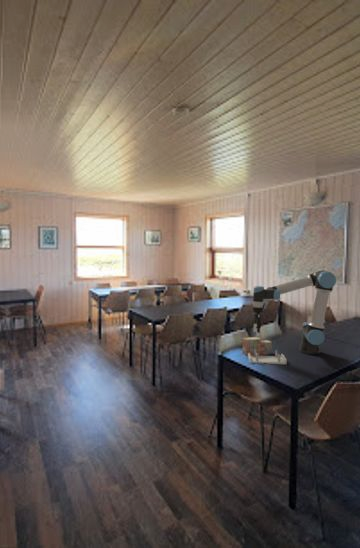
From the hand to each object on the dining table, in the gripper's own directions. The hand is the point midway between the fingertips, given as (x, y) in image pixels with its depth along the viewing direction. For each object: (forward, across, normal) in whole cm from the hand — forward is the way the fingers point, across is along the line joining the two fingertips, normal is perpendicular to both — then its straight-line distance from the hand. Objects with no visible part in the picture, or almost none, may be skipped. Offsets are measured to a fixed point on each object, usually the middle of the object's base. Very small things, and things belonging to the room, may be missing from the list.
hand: (256, 334), depth 246 cm
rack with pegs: (+15, +15, +6) cm, 22 cm away
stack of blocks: (+15, 0, +1) cm, 15 cm away
